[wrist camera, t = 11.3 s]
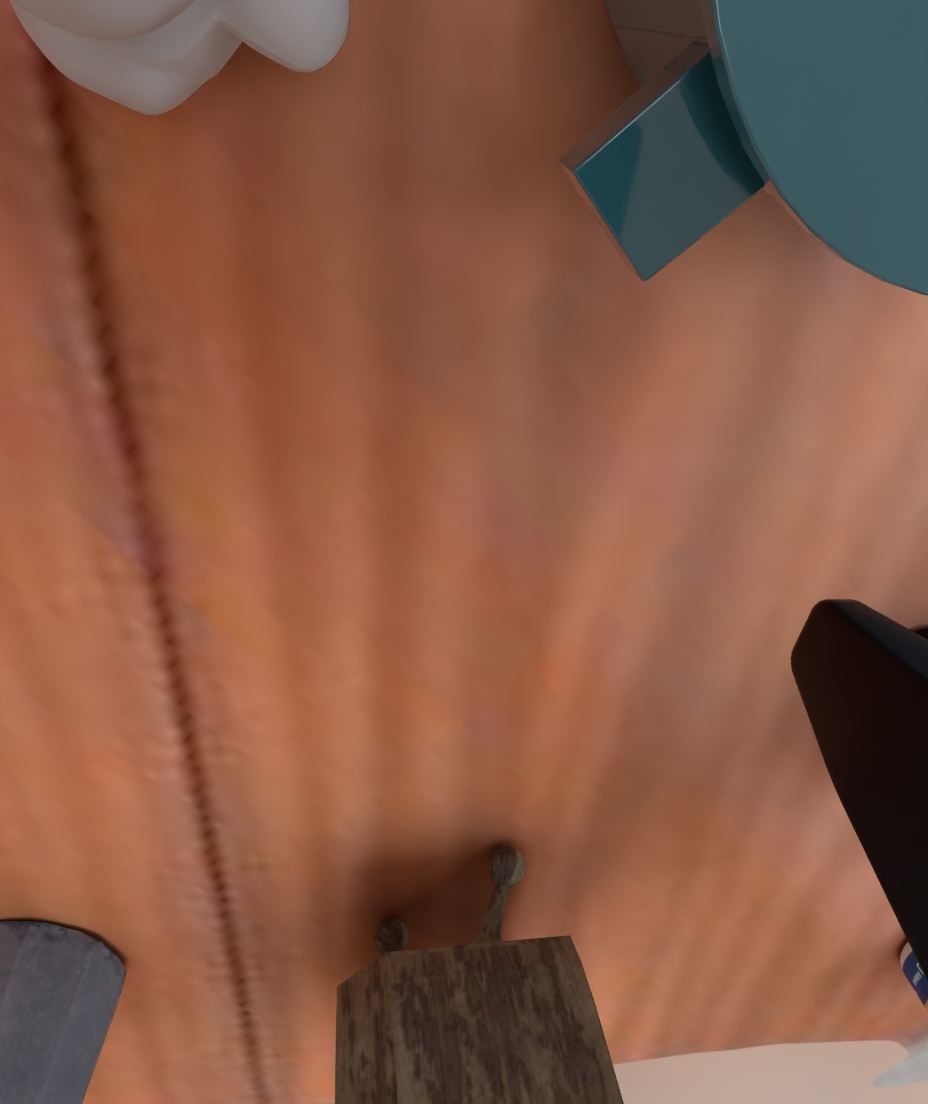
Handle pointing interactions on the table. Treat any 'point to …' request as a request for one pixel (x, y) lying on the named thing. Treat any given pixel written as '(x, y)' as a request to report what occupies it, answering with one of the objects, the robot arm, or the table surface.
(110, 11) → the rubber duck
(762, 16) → the pot lid
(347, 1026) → the tabletop clock
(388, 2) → the table surface
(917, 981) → the beverage bottle
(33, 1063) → the moka pot
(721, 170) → the pot
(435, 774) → the table surface
